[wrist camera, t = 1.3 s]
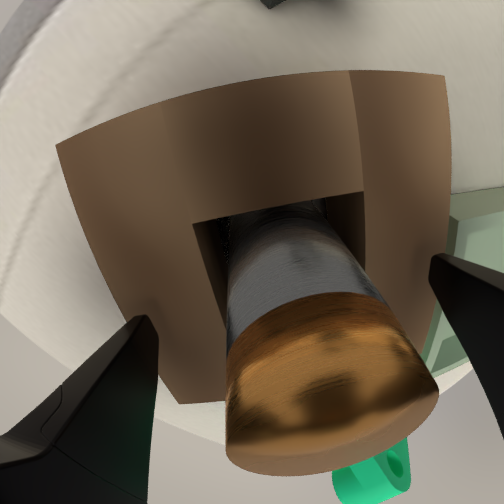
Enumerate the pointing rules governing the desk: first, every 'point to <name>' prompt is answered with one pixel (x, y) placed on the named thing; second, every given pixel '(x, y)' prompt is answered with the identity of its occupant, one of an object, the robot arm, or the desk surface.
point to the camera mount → (374, 477)
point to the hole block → (262, 197)
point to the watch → (271, 3)
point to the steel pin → (312, 351)
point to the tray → (471, 249)
